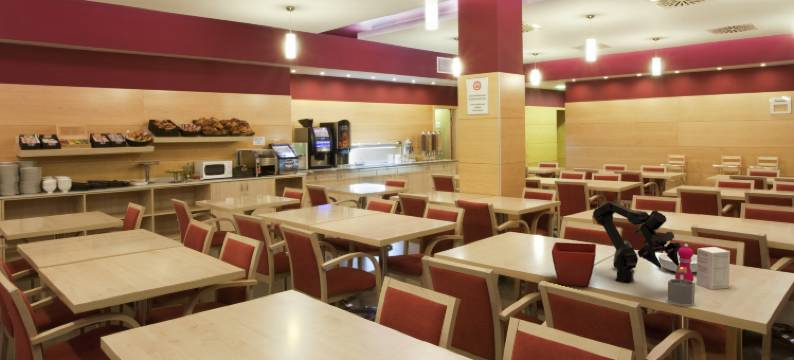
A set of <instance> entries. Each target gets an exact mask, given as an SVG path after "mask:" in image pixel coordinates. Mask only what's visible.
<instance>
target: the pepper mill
mask: <svg viewBox="0 0 794 360" xmlns="http://www.w3.org/2000/svg"><path fill="white" fill-rule="evenodd" d="M693 254H694V251H693V249H692V248H690V247H689V245H688V244H687V243H685V244H683V247H682V246H681V247H680V249H679V250H678V255H679V256H680V257H679V261H680V266H682V267H686V268H687V274H683V280H689V281H691V282H694V275H693V272H691V269H690V262H692V261H691V260H692V259H691V257H692V256H693ZM674 279H680V274H679V273H677V272H675V278H674Z"/></svg>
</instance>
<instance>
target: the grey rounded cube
mask: <svg viewBox="0 0 794 360" xmlns="http://www.w3.org/2000/svg"><path fill="white" fill-rule="evenodd" d="M677 282H678V283H680V279H676V278H671V279H669V280H668V281H667V303H669V304H671V305H673V306H677V307H678V306H680V307H692V306H694V305H695V294H696V291H695V289H696V287H695V284H696V283H695V282H694V281H692V282H691V281H689V280H683V283H686V284H689V285H678V284H674V283H677Z"/></svg>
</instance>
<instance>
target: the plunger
mask: <svg viewBox="0 0 794 360" xmlns="http://www.w3.org/2000/svg"><path fill="white" fill-rule="evenodd" d="M677 273H679V274H680V283H678V282H677V283H674V284H678V285H689V284H686V283H683V274H687V268H686V267H682V266H678V267H677Z"/></svg>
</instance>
